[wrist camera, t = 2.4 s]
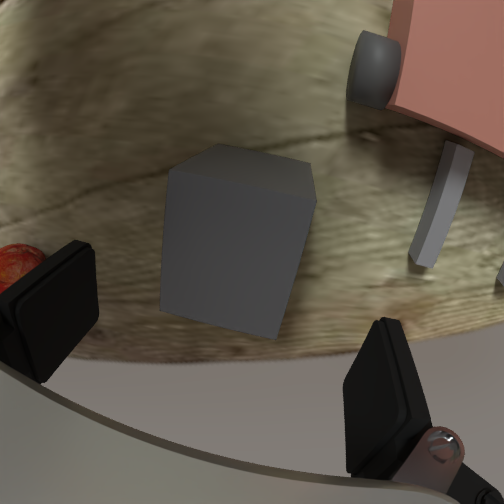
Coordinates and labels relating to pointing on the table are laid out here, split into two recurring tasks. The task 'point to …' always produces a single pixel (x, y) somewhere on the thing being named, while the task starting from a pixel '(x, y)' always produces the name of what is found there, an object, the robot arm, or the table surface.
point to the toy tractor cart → (438, 92)
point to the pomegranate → (17, 263)
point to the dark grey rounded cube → (235, 237)
